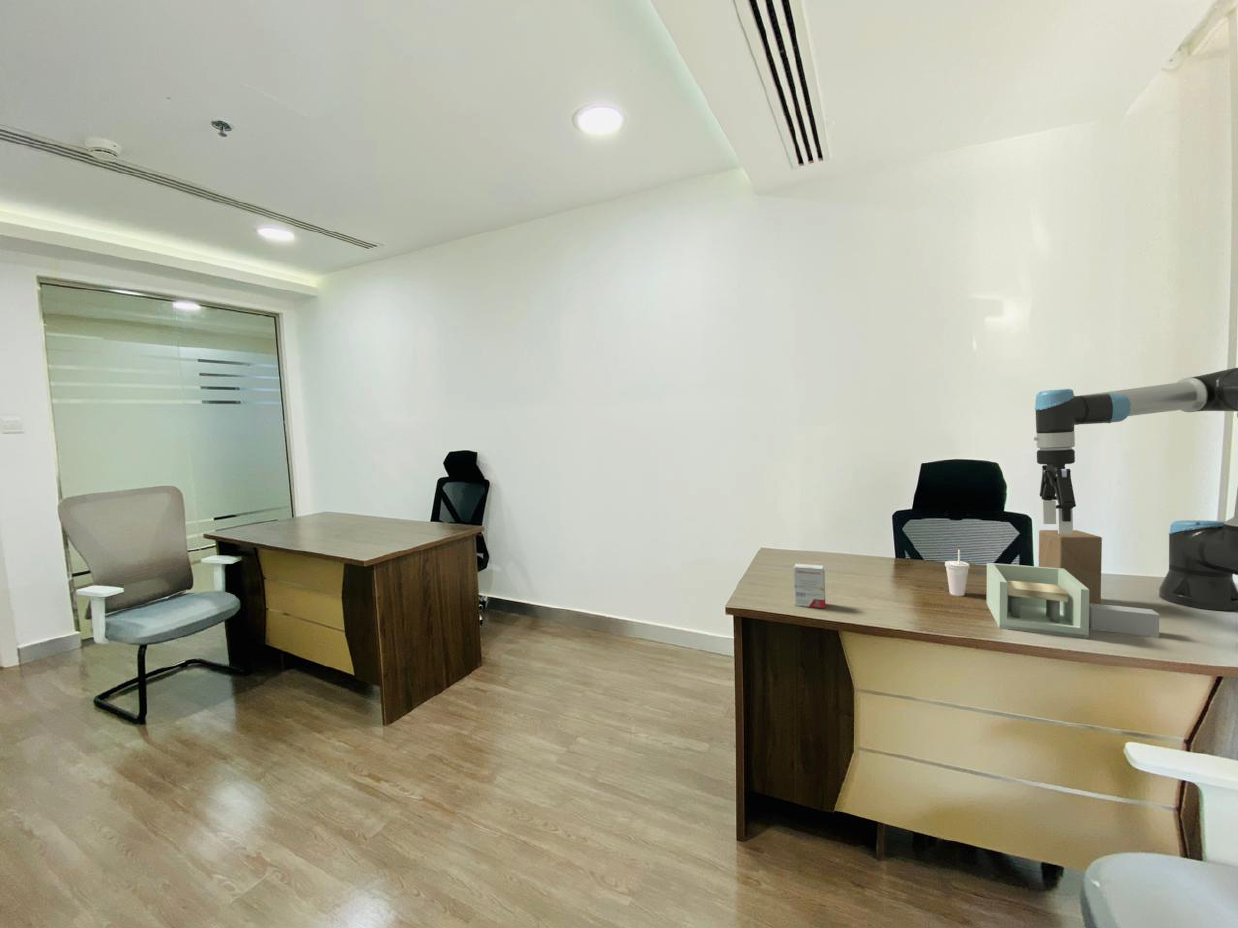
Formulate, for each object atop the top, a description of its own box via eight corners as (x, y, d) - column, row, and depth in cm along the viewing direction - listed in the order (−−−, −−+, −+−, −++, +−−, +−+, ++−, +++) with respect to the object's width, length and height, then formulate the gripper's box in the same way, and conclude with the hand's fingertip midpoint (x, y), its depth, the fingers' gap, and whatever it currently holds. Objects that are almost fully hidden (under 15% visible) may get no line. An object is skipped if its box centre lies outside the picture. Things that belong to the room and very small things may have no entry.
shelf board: (1058, 592, 130) (1058, 584, 130) (1067, 601, 124) (1067, 593, 123) (1001, 587, 136) (1001, 579, 136) (1007, 595, 129) (1007, 588, 129)
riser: (1151, 631, 121) (1151, 609, 121) (1158, 637, 117) (1159, 614, 117) (1085, 623, 127) (1086, 602, 126) (1091, 629, 123) (1091, 607, 123)
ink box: (825, 603, 148) (825, 564, 148) (825, 608, 144) (824, 569, 143) (795, 600, 152) (794, 562, 151) (793, 605, 147) (793, 566, 147)
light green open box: (1063, 611, 135) (1063, 568, 135) (1088, 639, 118) (1089, 589, 117) (986, 603, 143) (986, 562, 143) (999, 627, 126) (999, 581, 125)
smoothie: (962, 598, 148) (962, 552, 147) (940, 593, 154) (940, 548, 153) (974, 594, 151) (974, 549, 150) (952, 589, 157) (952, 545, 156)
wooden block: (1101, 608, 137) (1102, 536, 136) (1059, 607, 139) (1060, 536, 138) (1076, 596, 147) (1077, 529, 146) (1037, 595, 149) (1038, 529, 148)
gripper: (1025, 447, 143) (1027, 520, 144) (1051, 452, 121) (1053, 537, 122) (1058, 445, 139) (1060, 520, 140) (1091, 450, 117) (1093, 538, 118)
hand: (1057, 528), depth 131 cm, fingers open, 13 cm apart
